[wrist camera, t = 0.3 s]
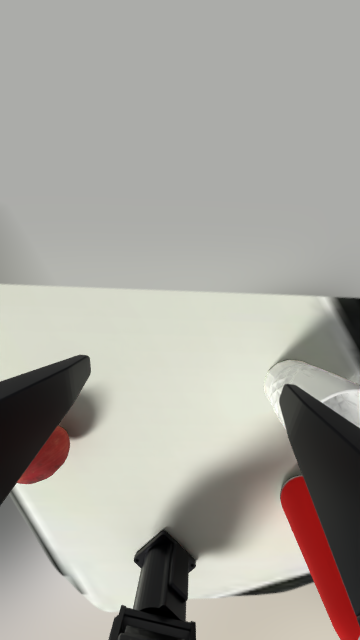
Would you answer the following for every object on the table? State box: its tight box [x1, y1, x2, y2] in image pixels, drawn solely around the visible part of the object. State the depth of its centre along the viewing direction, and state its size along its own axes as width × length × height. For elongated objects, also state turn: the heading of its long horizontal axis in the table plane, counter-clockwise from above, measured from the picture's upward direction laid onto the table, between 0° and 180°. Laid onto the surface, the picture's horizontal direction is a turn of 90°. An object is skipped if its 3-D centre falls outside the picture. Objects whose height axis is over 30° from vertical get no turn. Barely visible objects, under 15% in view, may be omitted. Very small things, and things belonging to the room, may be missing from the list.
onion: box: [17, 426, 70, 484], centre depth 24 cm, size 6×6×8 cm
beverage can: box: [280, 476, 360, 640], centre depth 19 cm, size 6×6×12 cm
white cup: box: [264, 360, 360, 429], centre depth 19 cm, size 8×8×10 cm
